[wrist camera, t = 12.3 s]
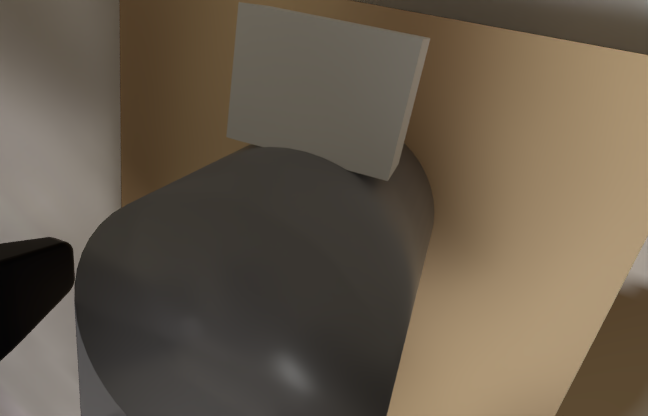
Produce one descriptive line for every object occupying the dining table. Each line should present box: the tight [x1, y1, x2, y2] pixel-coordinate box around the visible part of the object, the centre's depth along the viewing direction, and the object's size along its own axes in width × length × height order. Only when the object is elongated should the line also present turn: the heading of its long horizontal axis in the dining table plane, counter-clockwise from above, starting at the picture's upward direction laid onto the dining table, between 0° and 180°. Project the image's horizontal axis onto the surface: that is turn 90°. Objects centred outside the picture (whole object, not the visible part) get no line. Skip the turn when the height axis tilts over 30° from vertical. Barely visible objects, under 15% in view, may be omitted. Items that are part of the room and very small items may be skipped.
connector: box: [75, 2, 434, 416], centre depth 8 cm, size 4×9×5 cm, turn 169°
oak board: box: [120, 0, 648, 416], centre depth 11 cm, size 11×11×1 cm
